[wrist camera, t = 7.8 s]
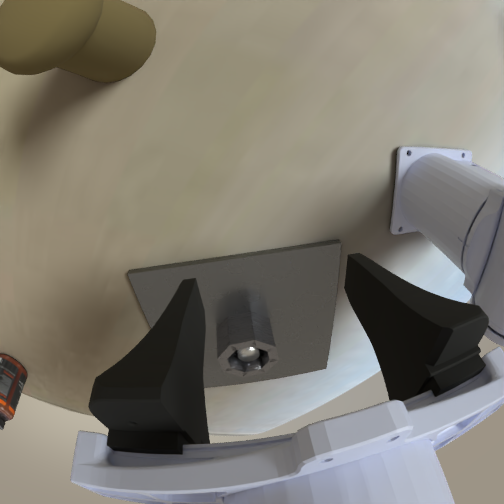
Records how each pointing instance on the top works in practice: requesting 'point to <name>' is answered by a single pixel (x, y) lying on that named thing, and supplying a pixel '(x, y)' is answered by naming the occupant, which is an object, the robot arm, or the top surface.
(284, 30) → the top surface
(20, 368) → the supplement bottle
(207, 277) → the stand
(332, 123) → the top surface
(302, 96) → the top surface
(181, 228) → the top surface
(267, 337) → the ring
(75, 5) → the cork
